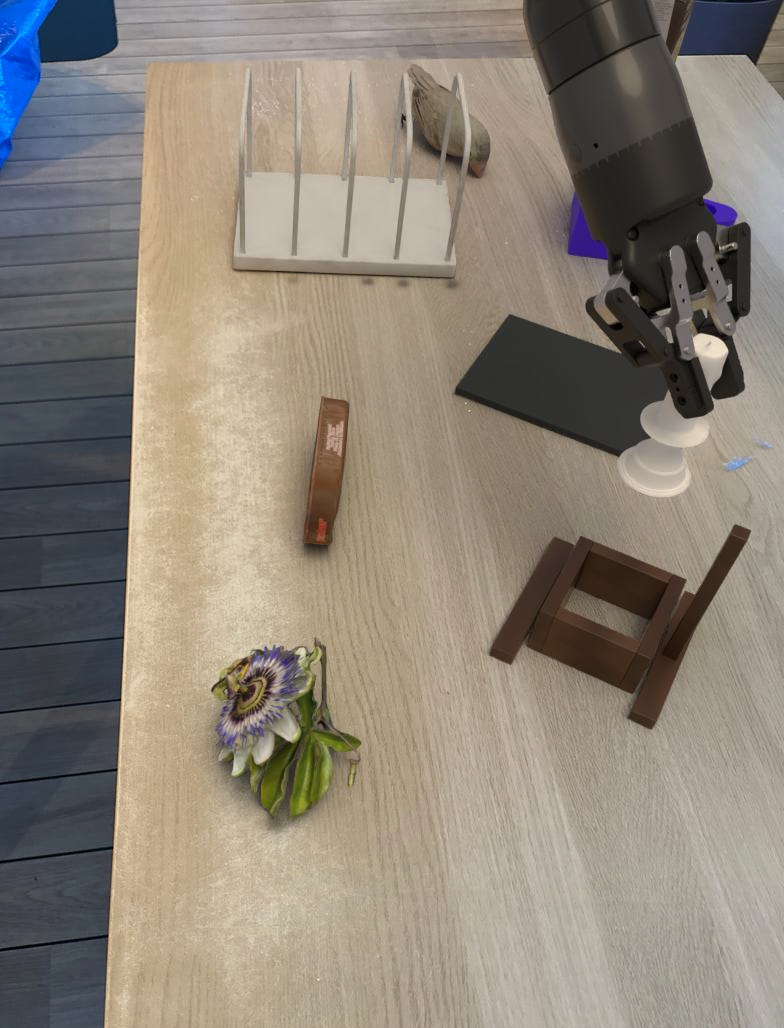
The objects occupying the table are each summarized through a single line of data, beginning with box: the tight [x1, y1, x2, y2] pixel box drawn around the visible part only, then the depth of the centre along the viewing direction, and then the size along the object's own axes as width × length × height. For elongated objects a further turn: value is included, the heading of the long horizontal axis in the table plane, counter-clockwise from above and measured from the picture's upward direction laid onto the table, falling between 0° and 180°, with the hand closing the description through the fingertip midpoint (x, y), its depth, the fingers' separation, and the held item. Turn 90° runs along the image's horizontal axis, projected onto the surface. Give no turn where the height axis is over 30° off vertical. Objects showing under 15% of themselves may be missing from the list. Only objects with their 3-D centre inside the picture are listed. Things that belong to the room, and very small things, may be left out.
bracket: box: [567, 190, 738, 261], centre depth 113 cm, size 18×11×12 cm, turn 78°
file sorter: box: [232, 66, 471, 278], centre depth 110 cm, size 25×17×16 cm
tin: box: [302, 395, 350, 546], centre depth 88 cm, size 15×3×8 cm, turn 175°
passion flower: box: [210, 636, 362, 822], centre depth 73 cm, size 11×11×12 cm
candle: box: [616, 333, 728, 499], centre depth 68 cm, size 5×5×12 cm
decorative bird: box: [401, 63, 491, 178], centre depth 125 cm, size 5×16×8 cm, turn 33°
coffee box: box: [652, 0, 696, 64], centre depth 128 cm, size 9×6×16 cm
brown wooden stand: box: [488, 523, 752, 730], centre depth 77 cm, size 14×14×16 cm
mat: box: [454, 313, 668, 458], centre depth 101 cm, size 20×14×1 cm
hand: (714, 404), depth 65 cm, fingers closed on candle, 2 cm apart
